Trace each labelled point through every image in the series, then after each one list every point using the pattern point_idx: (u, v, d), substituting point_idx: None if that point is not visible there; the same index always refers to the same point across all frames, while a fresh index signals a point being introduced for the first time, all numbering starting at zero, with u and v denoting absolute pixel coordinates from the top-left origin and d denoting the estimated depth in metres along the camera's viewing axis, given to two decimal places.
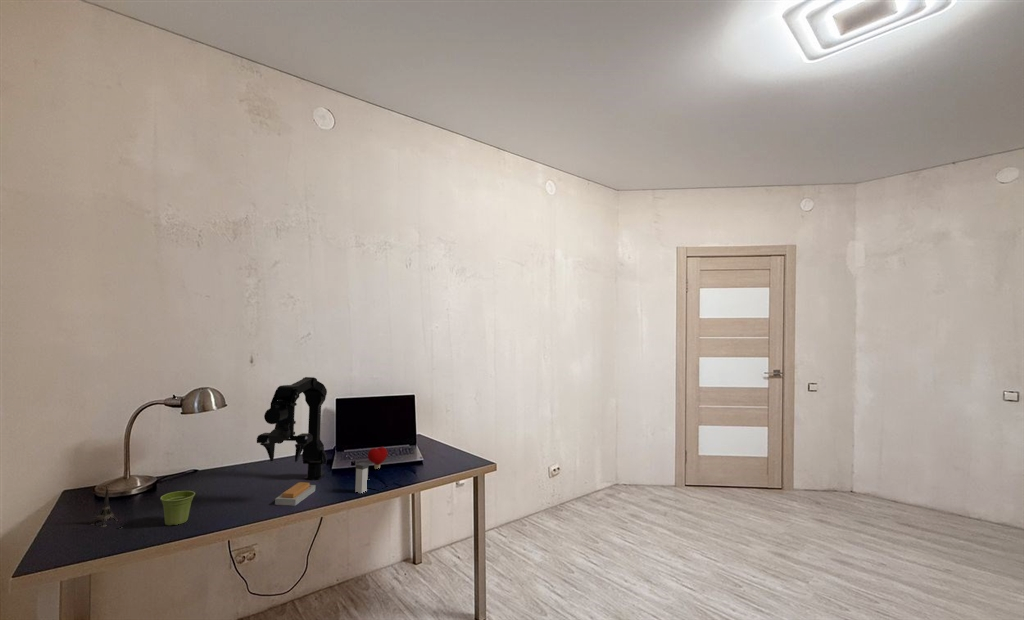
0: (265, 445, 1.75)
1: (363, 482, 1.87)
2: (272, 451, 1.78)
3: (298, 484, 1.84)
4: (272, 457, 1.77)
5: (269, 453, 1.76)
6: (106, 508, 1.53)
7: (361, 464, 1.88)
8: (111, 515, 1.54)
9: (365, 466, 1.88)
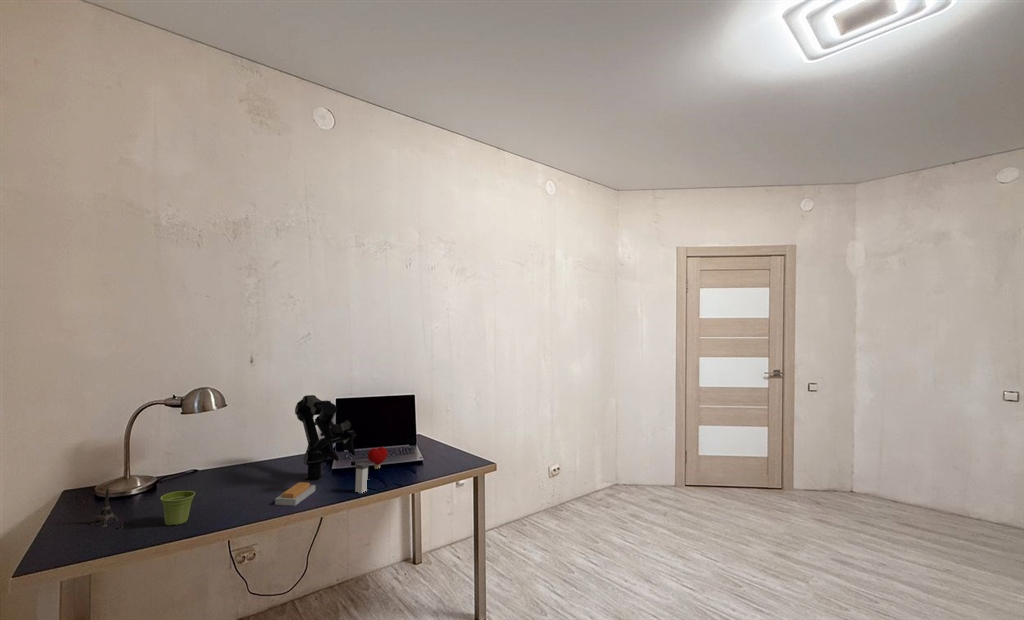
0: (331, 444, 1.88)
1: (363, 482, 1.87)
2: None
3: (298, 484, 1.84)
4: None
5: (334, 452, 1.88)
6: (106, 508, 1.53)
7: (361, 464, 1.88)
8: (111, 515, 1.54)
9: (365, 466, 1.88)
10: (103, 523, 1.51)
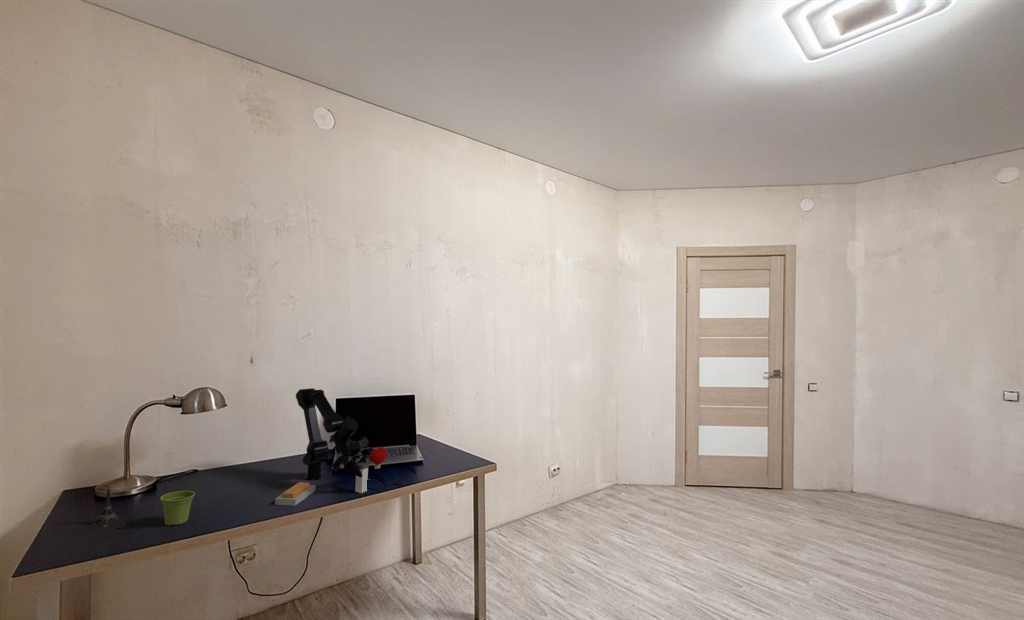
0: (354, 460, 1.87)
1: (363, 482, 1.87)
2: None
3: (298, 484, 1.84)
4: None
5: (358, 469, 1.87)
6: (107, 508, 1.53)
7: (361, 464, 1.88)
8: (112, 515, 1.54)
9: (365, 466, 1.88)
10: (104, 523, 1.51)
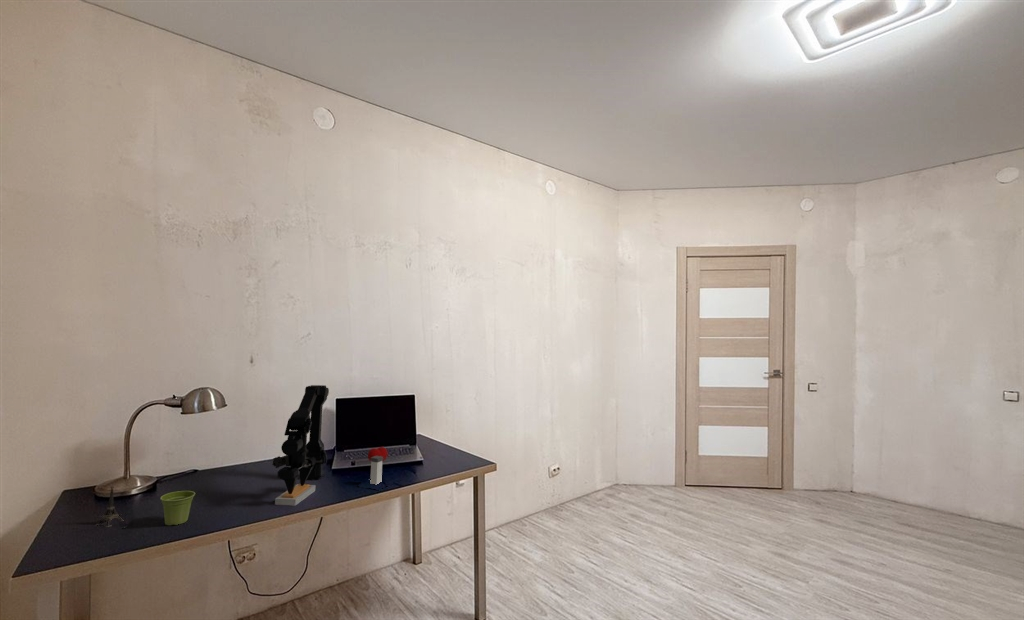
0: None
1: (378, 474, 1.96)
2: (303, 476, 1.85)
3: (298, 486, 1.84)
4: (302, 482, 1.85)
5: None
6: (111, 508, 1.53)
7: (376, 457, 1.97)
8: (116, 515, 1.54)
9: (380, 459, 1.97)
10: (107, 523, 1.51)
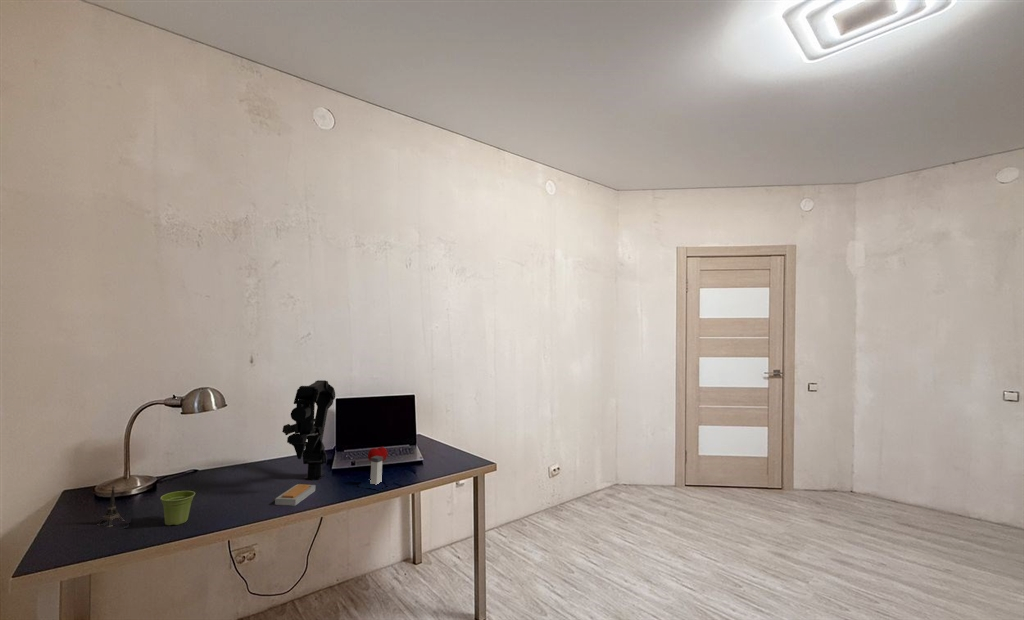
0: None
1: (378, 474, 1.96)
2: (311, 444, 1.96)
3: (298, 486, 1.84)
4: (310, 449, 1.95)
5: None
6: (112, 508, 1.53)
7: (376, 457, 1.97)
8: (117, 515, 1.54)
9: (380, 459, 1.97)
10: (108, 523, 1.51)
